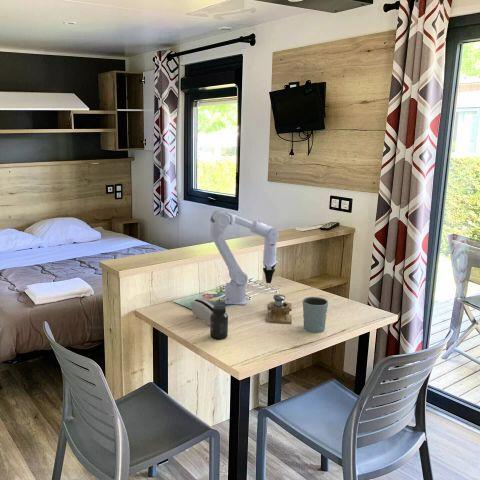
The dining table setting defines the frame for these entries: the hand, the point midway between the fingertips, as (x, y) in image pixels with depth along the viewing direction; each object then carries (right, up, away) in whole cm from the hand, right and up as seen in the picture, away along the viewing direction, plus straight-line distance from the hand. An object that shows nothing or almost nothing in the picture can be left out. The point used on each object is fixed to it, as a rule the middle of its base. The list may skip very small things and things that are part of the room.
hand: (268, 280), depth 231 cm
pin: (+3, -13, -15) cm, 20 cm away
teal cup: (+16, -17, -31) cm, 39 cm away
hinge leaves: (+4, -13, -15) cm, 20 cm away
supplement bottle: (-22, -19, -41) cm, 50 cm away
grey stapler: (-28, -15, -25) cm, 40 cm away
